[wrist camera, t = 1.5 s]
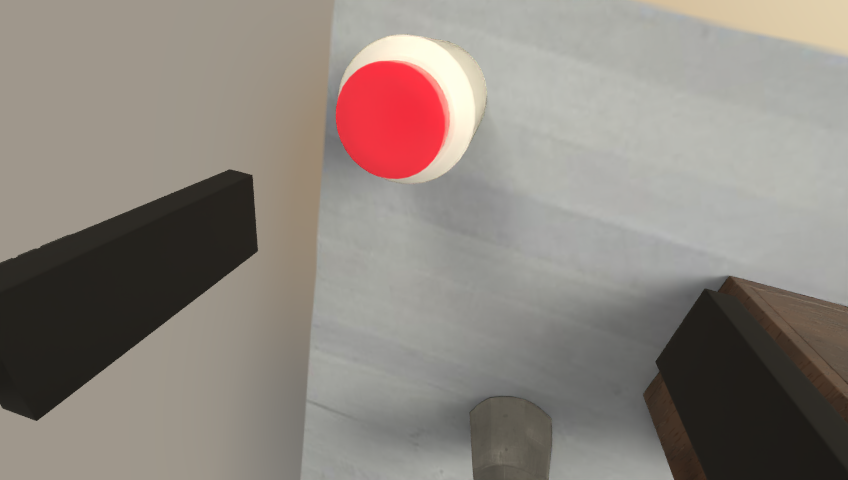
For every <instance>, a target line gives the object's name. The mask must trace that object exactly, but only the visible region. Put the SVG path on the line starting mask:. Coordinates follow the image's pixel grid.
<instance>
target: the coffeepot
mask: <svg viewBox="0 0 848 480" xmlns="http://www.w3.org/2000/svg"><path fill="white" fill-rule="evenodd" d="M470 427H471V447H472V467H473V478H474V480H548V479H549V469H550V458H551V448H552V423H551V418H550V417H549V416H548V415H547V414H546V413H545V412H544V411H542V410H541V409H540V408H539V407H538V406H536V405H534V404H533V403H531V402H528V401H526V400H523V399H520V398H516V397H508V396H500V397H493V398H489V399H486V400H485V401H483V402H481V403H480V404H478V405H477V406H476V408H475V409H474V410H473V411H471V412H470Z"/></svg>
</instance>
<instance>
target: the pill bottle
mask: <svg viewBox="0 0 848 480" xmlns="http://www.w3.org/2000/svg"><path fill="white" fill-rule="evenodd" d="M486 104H487V89H486V83H485V79H484V76H483V74H482V71H481V69H480V67H479V66H478V64H477V62H476V61H475V59H474V58H473V57H472V56H471V55H470V54H469V53H468V52H467V51H465V50H464V49H463V48H461V47H460V46H458V45H456V44H453V43H451V42H449V41H444V40H438V39H432V38H426V37H420V36H414V35H408V34H404V35H391V36H388V37H384V38H381V39H378V40H376V41H374V42H373V43H371V44H369V45H368V46H366V47H365V48H364V49H362V50H361V51H360V52H359V53H358V54H357V55H356V56H355V57H354V58H353V60H352V61H351V63H350V64H349V66H348V67H347V69H346V71H345V73H344V76H343V78H342V80H341V83H340V88H339V92H338V101H337V106H336V124H337V130H338V133H339V136H340V139H341V142H342V144H343V146H344V148H345V150H346V151H347V153H348V154H349V155H350V157H351V158H352V159H353V160H354V161H355V162H356V163H357V164H358V165H359V166H360V167H362V168H363V169H365V170H366V171H368V172H369V173H371V174H374V175H376V176H378V177H381V178H384V179H386V180H388V181H392V182H396V183H401V184H417V183H423V182H428V181H430V180H433V179H436V178H438V177H440V176H441V175H443V174H444V173H446V172H448V171H449V170H450V169H451V168H452V167H453V166H454V165H455V164H456V163H457V162H458V161H459V160H460V159H461V157H462V156H463V154H464V153H465V151H466V150H467V148H468V146H469V144H470V142H471V141H472V139H473V137H474V135H475V133H476V131H477V129H478V127H479V126H480V123H481V121H482V119H483V116H484V113H485V109H486Z"/></svg>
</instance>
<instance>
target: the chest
mask: <svg viewBox="0 0 848 480" xmlns="http://www.w3.org/2000/svg"><path fill="white" fill-rule="evenodd" d="M718 292H720V293H724V294H728V295H732V296H736V297H737V298H738V300H739V301H740V302H741V303H742V304H743V305H744V306H745V308H746V309H747V310H748V311H749V312H750V313H751V314H752V315H753V317H754V318H755V319H756V320H757V321H758V322H759V323H760V325H761V326H762V327H763V328H764V329H765V330H766V331H767V332H768V334H769V335H770V336H771V337H772V338H773V339H774V340H775V342H776V343H777V344H778V345H779V346H780V347H781V348H782V350H783V351H784V352H785V353H786V354H787V355H788V356H789V357H790V359H791V360H792V361H793V362H794V363H795V364H796V365H797V367H798V368H799V369H800V370H801V371H802V372H803V373H804V374H805V376H806V377H807V378H808V379H809V380H810V381H811V382H812V384H813V385H814V386H815V387H816V388H817V389H818V390H819V392H820V393H821V394H822V395H823V396H824V397H825V398H826V399H827V401H828V402H829V403H830V404H831V405H832V406H833V407H834V409H835V410H836V411H837V412H838V413H839V414H840V415H841V417H842V418H843V419H844V420H845V421H846V422H847V423H848V307H846V306H842V305H839V304H835V303H831V302H827V301H823V300H820V299H816V298H812V297H808V296H805V295H801V294H797V293H793V292H789V291H786V290H782V289H778V288H774V287H771V286H767V285H763V284H759V283H756V282H752V281H748V280H744V279H740V278H737V277H733V276H729V277H728V278H727V280H726V281H725V282H724V284H723V285H722V287H721V288H720V289H719V291H718ZM643 396H644V399H645V402H646V404H647V407H648V410H649V412H650V415H651V418H652V420H653V423H654V426H655V429H656V431H657V434H658V437H659V440H660V442H661V445H662V448H663V450H664V453H665V456H666V459H667V461H668V464H669V467H670V470H671V472H672V475H673V478H674V480H707V478H706V476H705V474H704V472H703V469H702V467H701V465H700V462H699V460H698V458H697V456H696V453H695V451H694V449H693V446H692V444H691V442H690V440H689V437H688V435H687V433H686V430H685V428H684V426H683V424H682V421H681V419H680V417H679V414H678V412H677V410H676V408H675V405H674V403H673V401H672V398H671V396H670V394H669V392H668V389H667V387H666V385H665V382H664V380H663V378H662V376H661V373H660V372H659V373H658V375H657V376H656V377H655V379H654V380H653V381H652V383H651V384H650V386H649V387H648V388H647V390H646V391H645V392H644V394H643Z"/></svg>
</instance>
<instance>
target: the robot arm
mask: <svg viewBox="0 0 848 480" xmlns="http://www.w3.org/2000/svg"><path fill="white" fill-rule="evenodd" d="M257 251H258V247H257V234H256V219H255V206H254V191H253V178H252V175H250V174H246V173H242V172H238V171H234V170H227V171H225V172H222V173H220V174H218V175H215V176H213V177H210V178H208V179H205V180H203V181H201V182H198V183H196V184H193V185H191V186H188V187H186V188H184V189H181V190H179V191H176V192H174V193H171V194H169V195H167V196H164V197H162V198H159V199H157V200H155V201H152V202H150V203H147V204H145V205H143V206H140V207H137V208H135V209H133V210H130V211H128V212H125V213H123V214H120V215H118V216H116V217H113V218H111V219H108V220H106V221H103V222H101V223H99V224H96V225H94V226H91V227H89V228H86V229H84V230H82V231H79V232H77V233H75V234H71V235H67V236H64V237H62V238H60V239H57V240H55V241H52V242H50V243H47V244H45V245H42V246H41V247H40V248H38V249H33V250H30V251H28V252H26V253H23V254H21V255H18V257H16V258H11V259H8V260H6V261H3V262H1V263H0V404H1V406H2V408H3V409H6V410H9V411H11V412H14V413H17V414H19V415H22V416H25V417H28V418H30V419H33V420H36V421H37V420H39V419H40V418H41V417H43V416H44V415H45V414H46V413H48V412H49V411H50V410H52V409H53V408H54V407H55V406H57V405H58V404H60V403H61V402H62V401H63V400H65V399H66V398H67V397H69V396H70V395H71V394H73V393H74V392H75V391H76V390H78V389H79V388H80V387H82V386H83V385H84V384H85V383H87V382H88V381H89V380H91V379H92V378H93V377H95V376H96V375H97V374H98V373H100V372H101V371H102V370H104V369H105V368H106V367H107V366H109V365H110V364H112V363H113V362H114V361H115V360H116V359H118V358H119V357H121V356H122V355H123V354H125V353H126V352H127V351H128V350H130V349H131V348H132V347H134V346H135V345H136V344H138V343H139V342H140V341H141V340H143V339H144V338H145V337H147V336H148V335H149V334H151V333H152V332H153V331H155V330H156V329H157V328H158V327H159V326H161V325H162V324H164V323H165V322H166V321H167V320H169V319H170V318H171V317H172V316H174V315H175V314H176V313H178V312H179V311H180V310H182V309H183V308H184V307H186V306H187V305H188V304H189V303H191V302H192V301H193V300H195V299H196V298H197V297H199V296H200V295H201V294H203V293H204V292H205V291H207V290H208V289H209V288H210V287H212V286H213V285H214V284H216V283H217V282H218V281H220V280H221V279H222V278H223V277H224V276H226V275H227V274H229V273H230V272H231V271H233V270H234V269H235V268H237V267H238V266H239V265H240V264H242V263H243V262H244V261H246V260H247V259H248V258H250V257H251V256H252V255H253V254H255V253H256V252H257ZM656 364H657V366H658V369H659V371H660V373H661V376H662V378H663V380H664V382H665V385H666V387H667V389H668V392H669V394H670V396H671V398H672V401H673V403H674V405H675V408H676V410H677V412H678V414H679V417H680V419H681V421H682V424H683V426H684V428H685V430H686V433H687V435H688V437H689V440H690V442H691V444H692V446H693V449H694V451H695V453H696V456H697V458H698V460H699V462H700V465H701V467H702V469H703V472H704V474H705V476H706V478H707V480H848V423H847V422H846V421H845V420H844V419H843V418H842V417H841V415H840V414H839V413H838V412H837V411H836V410H835V409H834V407H833V406H832V405H831V404H830V403H829V402H828V401H827V399H826V398H825V397H824V396H823V395H822V394H821V393H820V392H819V390H818V389H817V388H816V387H815V386H814V385H813V384H812V382H811V381H810V380H809V379H808V378H807V377H806V376H805V374H804V373H803V372H802V371H801V370H800V369H799V368H798V367H797V365H796V364H795V363H794V362H793V361H792V360H791V359H790V357H789V356H788V355H787V354H786V353H785V352H784V351H783V350H782V348H781V347H780V346H779V345H778V344H777V343H776V342H775V340H774V339H773V338H772V337H771V336H770V335H769V334H768V332H767V331H766V330H765V329H764V328H763V327H762V326H761V325H760V323H759V322H758V321H757V320H756V319H755V318H754V317H753V315H752V314H751V313H750V312H749V311H748V310H747V309H746V308H745V306H744V305H743V304H742V303H741V302H740V301H739V300H738V298H737V297H736V296H732V295H728V294H724V293H720V292H716V291H712V290H708V289H704V290H703V292H702V293H701V295H700V296H699V298H698V299H697V301H696V302H695V304H694V305H693V307H692V308H691V310H690V311H689V313H688V314H687V316H686V317H685V319H684V320H683V322H682V323H681V325H680V326H679V328H678V329H677V331H676V332H675V334H674V335H673V336H672V338H671V339H670V341H669V342H668V344H667V345H666V347H665V348H664V350H663V351H662V353H661V354H660V356H659V357H658V359H657V360H656Z"/></svg>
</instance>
